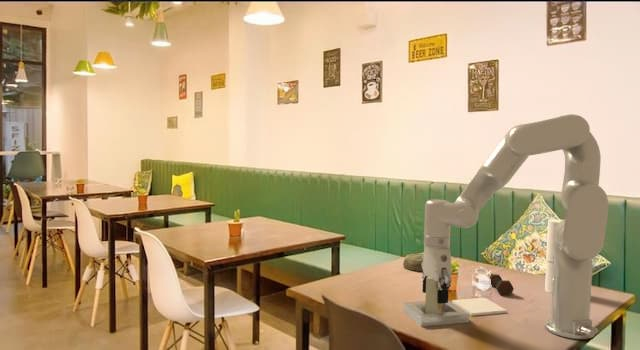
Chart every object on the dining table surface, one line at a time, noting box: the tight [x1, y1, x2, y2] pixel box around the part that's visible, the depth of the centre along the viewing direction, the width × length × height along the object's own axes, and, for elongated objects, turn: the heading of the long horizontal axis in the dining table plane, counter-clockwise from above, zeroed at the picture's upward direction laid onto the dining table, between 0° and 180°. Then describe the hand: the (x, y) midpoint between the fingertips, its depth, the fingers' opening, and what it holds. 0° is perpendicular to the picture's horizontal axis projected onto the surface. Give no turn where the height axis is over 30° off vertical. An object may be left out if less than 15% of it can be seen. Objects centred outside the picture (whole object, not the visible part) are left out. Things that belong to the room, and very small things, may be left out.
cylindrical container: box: [544, 218, 563, 294], centre depth 169 cm, size 7×7×25 cm
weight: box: [402, 253, 424, 272], centre depth 200 cm, size 14×13×5 cm
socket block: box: [402, 299, 470, 327], centre depth 145 cm, size 13×15×2 cm
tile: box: [451, 297, 508, 317], centre depth 153 cm, size 12×12×1 cm
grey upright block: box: [424, 277, 446, 314], centre depth 145 cm, size 6×4×12 cm
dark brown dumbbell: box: [490, 273, 515, 297], centre depth 172 cm, size 6×5×15 cm
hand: (434, 297), depth 145 cm, fingers open, 9 cm apart
